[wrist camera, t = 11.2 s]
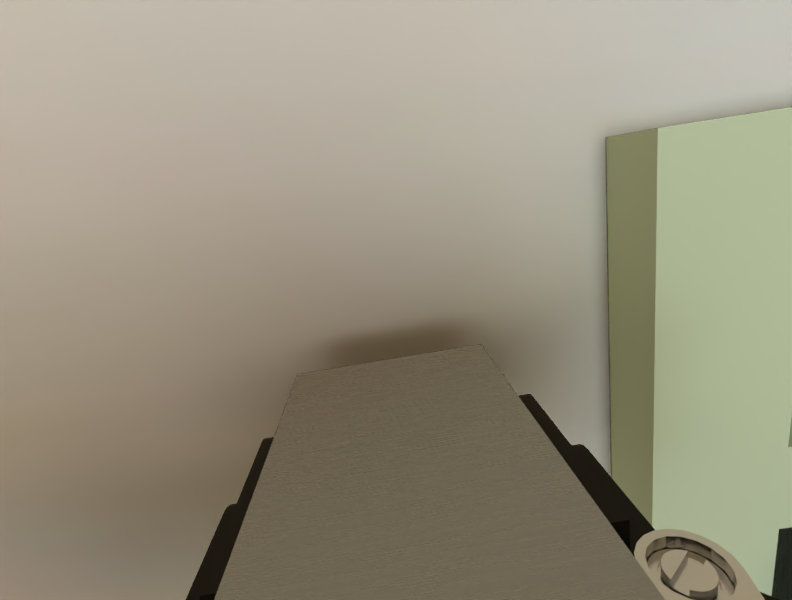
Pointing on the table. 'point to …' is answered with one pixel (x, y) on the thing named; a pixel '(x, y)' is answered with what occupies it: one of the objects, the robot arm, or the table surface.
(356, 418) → the knobbed taupe block
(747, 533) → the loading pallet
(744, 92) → the table surface
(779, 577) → the seated billet
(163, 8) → the table surface
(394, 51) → the table surface
